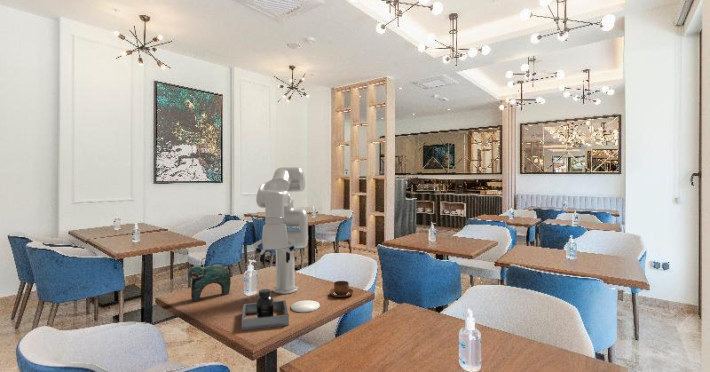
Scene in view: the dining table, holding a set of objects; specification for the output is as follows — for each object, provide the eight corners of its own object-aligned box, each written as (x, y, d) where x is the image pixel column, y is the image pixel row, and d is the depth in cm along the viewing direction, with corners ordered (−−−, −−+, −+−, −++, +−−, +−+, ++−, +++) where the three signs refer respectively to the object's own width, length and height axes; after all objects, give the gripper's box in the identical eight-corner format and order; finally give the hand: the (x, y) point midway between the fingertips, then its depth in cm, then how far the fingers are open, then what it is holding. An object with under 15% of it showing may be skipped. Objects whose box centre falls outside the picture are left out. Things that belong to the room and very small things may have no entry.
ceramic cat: (190, 303, 170) (189, 261, 170) (186, 299, 175) (185, 258, 175) (232, 294, 183) (231, 255, 182) (227, 291, 188) (226, 253, 187)
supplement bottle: (276, 316, 153) (276, 289, 153) (267, 323, 147) (267, 294, 146) (262, 315, 155) (262, 287, 155) (253, 321, 149) (253, 292, 149)
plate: (289, 303, 169) (289, 301, 169) (317, 300, 172) (317, 299, 172) (292, 313, 156) (292, 312, 156) (322, 310, 160) (322, 308, 160)
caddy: (243, 313, 157) (243, 304, 157) (285, 309, 162) (285, 300, 162) (241, 330, 140) (241, 320, 140) (288, 325, 145) (288, 315, 145)
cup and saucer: (357, 293, 183) (357, 281, 183) (344, 300, 173) (344, 288, 173) (338, 289, 189) (338, 278, 189) (324, 296, 179) (324, 284, 179)
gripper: (295, 219, 153) (295, 259, 154) (252, 221, 148) (253, 262, 149) (297, 221, 146) (297, 263, 146) (253, 223, 141) (253, 266, 141)
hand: (275, 263), depth 148 cm, fingers open, 9 cm apart
